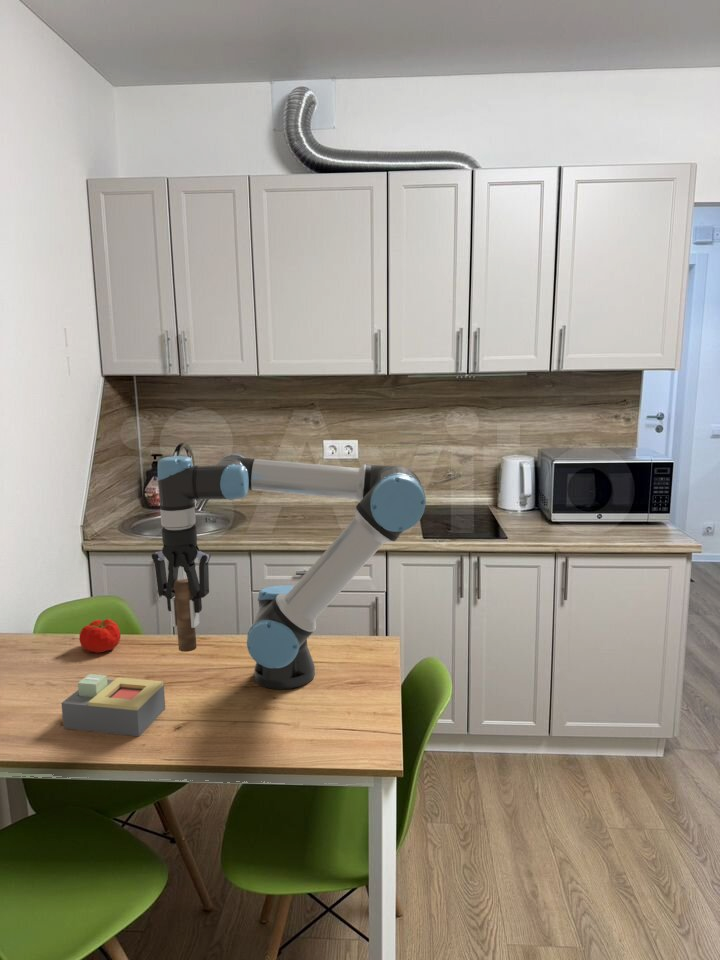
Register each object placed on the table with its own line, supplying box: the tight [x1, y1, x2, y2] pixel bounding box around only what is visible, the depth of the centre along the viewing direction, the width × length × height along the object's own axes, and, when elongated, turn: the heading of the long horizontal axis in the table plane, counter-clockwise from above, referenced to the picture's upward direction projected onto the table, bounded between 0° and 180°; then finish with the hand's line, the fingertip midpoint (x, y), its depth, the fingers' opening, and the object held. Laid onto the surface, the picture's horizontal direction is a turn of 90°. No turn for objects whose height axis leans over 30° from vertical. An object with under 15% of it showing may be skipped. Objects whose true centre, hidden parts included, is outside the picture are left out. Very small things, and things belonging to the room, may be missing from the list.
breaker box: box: [61, 676, 166, 737], centre depth 158 cm, size 18×12×7 cm, turn 78°
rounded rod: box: [174, 578, 197, 653], centre depth 162 cm, size 4×4×16 cm
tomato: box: [78, 618, 121, 654], centre depth 196 cm, size 11×11×8 cm
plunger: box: [111, 689, 141, 700], centre depth 157 cm, size 6×6×2 cm
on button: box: [77, 673, 108, 698], centre depth 159 cm, size 4×4×4 cm
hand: (186, 624), depth 162 cm, fingers closed on rounded rod, 4 cm apart
